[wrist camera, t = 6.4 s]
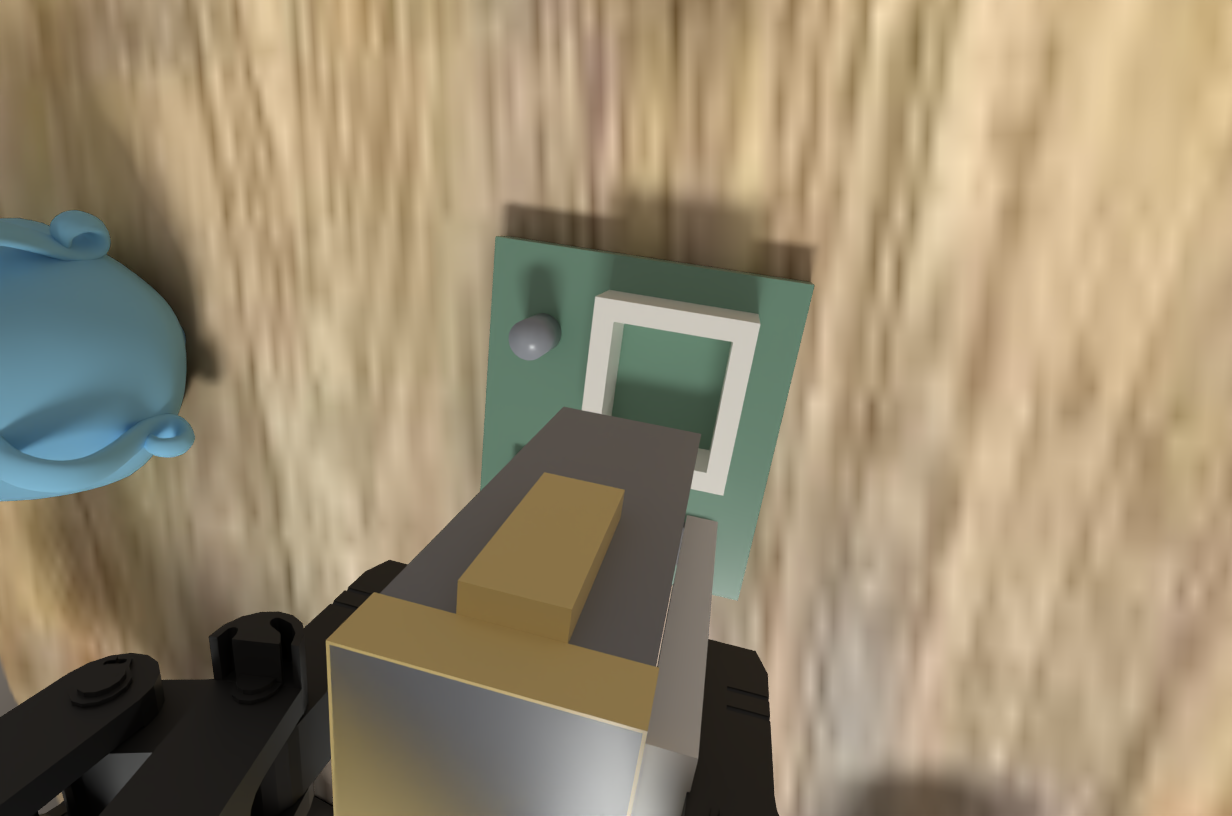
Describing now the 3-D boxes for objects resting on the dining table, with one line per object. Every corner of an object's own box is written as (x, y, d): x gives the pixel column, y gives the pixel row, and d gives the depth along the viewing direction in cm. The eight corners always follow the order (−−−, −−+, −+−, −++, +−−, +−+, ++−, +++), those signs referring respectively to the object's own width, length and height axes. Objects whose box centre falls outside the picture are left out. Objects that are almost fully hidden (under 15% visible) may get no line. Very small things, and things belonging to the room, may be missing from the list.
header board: (487, 526, 37) (454, 565, 32) (506, 236, 31) (469, 237, 26) (737, 585, 34) (737, 635, 30) (810, 282, 28) (823, 291, 24)
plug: (546, 555, 18) (338, 905, 9) (564, 386, 16) (323, 604, 7) (673, 585, 17) (594, 999, 8) (706, 414, 16) (654, 693, 6)
